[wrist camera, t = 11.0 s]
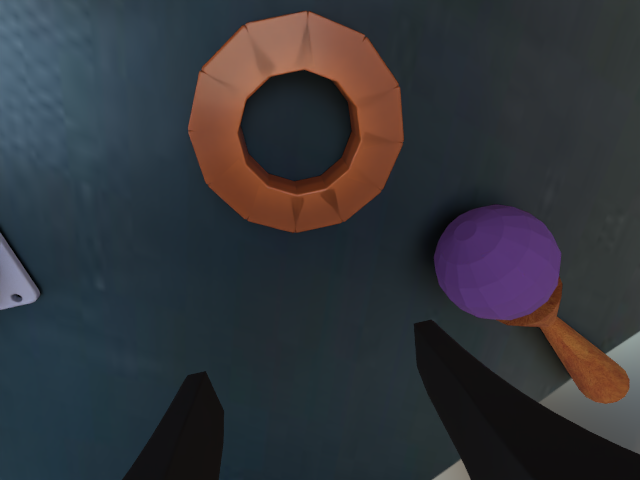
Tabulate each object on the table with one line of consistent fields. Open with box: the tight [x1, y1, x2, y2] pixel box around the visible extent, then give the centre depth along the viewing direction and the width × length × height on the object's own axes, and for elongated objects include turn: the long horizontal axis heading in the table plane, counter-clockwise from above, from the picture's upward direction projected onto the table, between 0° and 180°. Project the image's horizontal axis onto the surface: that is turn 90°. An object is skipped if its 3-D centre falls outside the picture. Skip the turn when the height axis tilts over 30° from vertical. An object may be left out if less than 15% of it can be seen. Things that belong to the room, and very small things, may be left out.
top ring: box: [188, 11, 404, 233], centre depth 17 cm, size 9×9×2 cm
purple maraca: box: [434, 204, 629, 404], centre depth 23 cm, size 6×6×20 cm
